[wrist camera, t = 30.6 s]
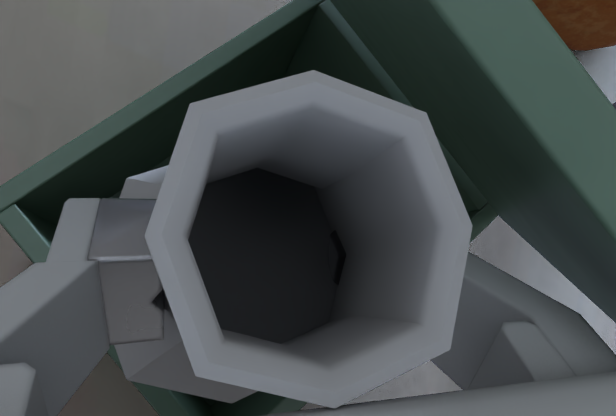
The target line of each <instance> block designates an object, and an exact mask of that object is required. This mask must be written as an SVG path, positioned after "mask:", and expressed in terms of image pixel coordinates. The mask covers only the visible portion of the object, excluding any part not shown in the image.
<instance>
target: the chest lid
mask: <svg viewBox="0 0 616 416" xmlns="http://www.w3.org/2000/svg"><path fill="white" fill-rule="evenodd" d="M330 1H331V2H332V4H333V5H334V6H335V8H336V9H337V10H338V11H339V13H340V14H341V15H342V16H343V18H344V19H345V20H346V22H347V23H348V24H349V25H350V27H351V28H352V29H353V30H354V32H355V33H356V34H357V36H358V37H359V38H360V39H361V41H362V42H363V43H364V45H365V46H366V47H367V48H368V50H369V51H370V52H371V53H372V55H373V56H374V57H375V59H376V60H377V61H378V62H379V64H380V65H381V66H382V67H383V69H384V70H385V71H386V73H387V74H388V75H389V76H390V78H391V79H392V80H393V82H394V83H395V84H396V85H397V87H398V88H399V89H400V90H401V92H402V93H403V94H404V96H405V97H406V98H407V99H408V101H409V102H410V103H411V104H412V106H413V107H414V108H415V109H418V110H421V111H423V112H426V113H427V115H428V118H429V120H430V123H431V125H432V128H433V130H434V132H435V135H436V136H437V138H438V139H439V140H440V141H441V143H442V144H443V145H444V147H445V148H446V149H447V150H448V152H449V153H450V154H451V156H452V157H453V158H454V159H455V161H456V162H457V163H458V164H459V166H460V167H461V168H462V170H463V171H464V172H465V173H466V175H467V176H468V177H469V178H470V180H471V181H472V182H473V184H474V185H475V186H476V187H477V189H478V190H479V191H480V193H481V194H482V195H483V196H484V198H485V199H486V200H487V201H488V203H489V204H490V205H491V207H492V208H493V209H494V210H495V212H496V213H497V214H498V215H499V217H501V218H502V219H503V220H504V221H505V222H506V223H507V224H508V225H509V226H510V227H511V228H513V229H514V230H515V231H516V232H517V233H518V234H519V235H520V236H521V237H522V238H523V239H525V240H526V241H527V242H528V243H529V244H530V245H531V246H532V247H533V248H534V249H535V250H537V251H538V252H539V253H540V254H541V255H542V256H543V257H544V258H545V259H546V260H548V261H549V262H550V263H551V264H552V265H553V266H554V267H555V268H556V269H557V270H558V271H560V272H561V273H562V274H563V275H564V276H565V277H566V278H567V279H568V280H569V281H570V282H572V283H573V284H574V285H575V286H576V287H577V288H578V289H579V290H580V291H581V292H582V293H584V294H585V295H586V296H587V297H588V298H589V299H590V300H591V301H592V302H593V303H595V304H596V305H597V306H598V307H599V308H600V309H601V310H602V311H603V312H604V313H605V314H607V315H608V316H609V317H610V318H611V319H612V320H613V321H614V322H615V323H616V102H615V103H614V104H613V105H612V104H611V102H610V101H609V100H608V99H607V97H606V96H605V95H604V93H603V92H602V91H601V89H600V88H599V87H598V86H597V84H596V83H595V82H594V80H593V79H592V78H591V76H590V75H589V74H588V72H587V71H586V70H585V69H584V67H583V66H582V65H581V63H580V62H579V61H578V59H577V58H576V57H575V56H574V54H573V53H572V52H571V50H570V49H569V48H568V46H567V45H566V44H565V42H564V41H563V40H562V39H561V37H560V36H559V35H558V33H557V32H556V31H555V29H554V28H553V27H552V25H551V24H550V23H549V22H548V20H547V19H546V18H545V16H544V15H543V14H542V12H541V11H540V10H539V9H538V7H537V6H536V5H535V3H534V2H533V1H532V0H330Z"/></svg>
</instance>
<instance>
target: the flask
mask: <svg viewBox="0 0 616 416" xmlns="http://www.w3.org/2000/svg"><path fill="white" fill-rule="evenodd" d="M120 198H130V199H157V200H156V203H155V206H154V209H153V212H152V215H151V218H150V221H149V224H148V227H147V229H146V232H145V240H146V243H147V246H148V248H149V251H150V254H151V257H152V259H153V262H154V265H155V268H156V270H157V273H158V276H159V279H160V281H161V284H162V287H163V290H164V303H165V315H164V340H156V341H146V342H137V343H127V344H118V345H114V346H115V349H116V352H117V354H118V357H119V360H120V363H121V366H122V369H123V372H124V374H125V377H126V380H129V381H133V382H138V383H142V384H147V385H151V386H156V387H160V388H164V389H169V390H173V391H178V392H182V393H187V394H191V395H196V396H200V397H205V398H209V399H213V400H218V401H222V402H227V403H231V404H232V403H234V402H236V401H238V400H240V399H242V398H245V397H247V396H249V395H251V394H253V393H255V392H257V391H261V392H266V393H270V394H274V395H279V396H283V397H287V398H292V399H296V400H300V401H305V402H309V403H313V404H317V405H322V406H326V407H330V408H337V407H339V406H341V405H343V404H345V403H347V402H349V401H351V400H353V399H355V398H357V397H359V396H360V395H362V394H364V393H366V392H368V391H370V390H372V389H374V388H376V387H378V386H380V385H382V384H384V383H386V382H388V381H390V380H392V379H394V378H396V377H398V376H400V375H402V374H404V373H406V372H408V371H409V370H411V369H413V368H415V367H417V366H419V365H421V364H423V363H425V362H427V361H429V360H431V359H433V358H435V357H437V356H439V355H441V354H443V353H445V352H447V351H449V350H450V348H451V342H452V337H453V331H454V326H455V320H456V315H457V309H458V304H459V298H460V293H461V287H462V282H463V276H464V271H465V265H466V260H467V254H468V249H469V243H470V238H471V232H472V227H473V225H472V223H471V220H470V218H469V215H468V213H467V211H466V208H465V206H464V203H463V201H462V198H461V196H460V193H459V191H458V189H457V186H456V184H455V181H454V179H453V176H452V174H451V172H450V169H449V167H448V164H447V162H446V159H445V157H444V154H443V152H442V150H441V147H440V145H439V142H438V140H437V137H436V135H435V132H434V130H433V128H432V125H431V123H430V120H429V118H428V115H427V113H426V112H423V111H421V110H418V109H415V108H413V107H410V106H407V105H405V104H402V103H400V102H397V101H394V100H392V99H389V98H386V97H384V96H381V95H378V94H376V93H373V92H371V91H368V90H365V89H363V88H360V87H357V86H355V85H352V84H349V83H347V82H344V81H342V80H339V79H336V78H334V77H331V76H328V75H326V74H323V73H320V72H318V71H315V70H311V71H308V72H304V73H300V74H296V75H293V76H289V77H285V78H282V79H278V80H274V81H271V82H267V83H263V84H260V85H256V86H252V87H249V88H245V89H241V90H237V91H234V92H230V93H226V94H223V95H219V96H215V97H212V98H208V99H204V100H201V101H197V102H193V103H190V105H189V107H188V110H187V113H186V116H185V119H184V122H183V125H182V128H181V131H180V134H179V136H178V139H177V142H176V145H175V148H174V151H173V154H172V157H171V160H170V163H169V165H168V166H164V167H161V168H158V169H155V170H151V171H148V172H145V173H141V174H138V175H135V176H132V177H128V178H126V181H125V184H124V187H123V189H122V192H121V195H120ZM334 230H336V232H337V234H338V237H339V239H340V241H341V243H342V245H343V248H344V250H345V252H346V258H345V262H344V266H343V270H342V274H341V278H340V282H339V286H338V285H337V284H336V283H334V282H333V280H332V277H331V274H330V271H329V266H328V243H329V238H330V234H331V233H332V232H333V231H334Z"/></svg>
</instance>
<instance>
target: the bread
mask: <svg viewBox="0 0 616 416" xmlns="http://www.w3.org/2000/svg"><path fill="white" fill-rule="evenodd" d="M532 1H533V2H534V3H535V5H536V6H537V7H538V9H539V10H540V11H541V12H542V14H543V15H544V16H545V18H546V19H547V20H548V22H549V23H550V24H551V25H552V27H553V28H554V29H555V31H556V32H557V33H558V35H559V36H560V37H561V39H562V40H563V41H564V42H565V44H566V45H567V46H568V48H569V49H571V50H583V51H586V50H592V49H597V48H603V47H609V46H614V45H616V0H532Z"/></svg>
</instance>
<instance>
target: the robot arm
mask: <svg viewBox="0 0 616 416" xmlns="http://www.w3.org/2000/svg"><path fill="white" fill-rule="evenodd" d="M156 200H157V199H130V198H102V199H100V198H69V199H68V200H67V201H66V202H65V203H64V206H63V209H62V213H61V216H60V219H59V222H58V225H57V228H56V231H55V234H54V238H53V241H52V244H51V247H50V250H49V253H48V256H47V260H46V262H38V263H34V264H33V265H31V266H30V267H28V268H27V269H26V270H24V271H23V272H21V273H20V274H19V275H17V276H16V277H14V278H13V279H12V280H10V281H9V282H7V283H6V284H4V285H3V286H2V287H0V416H57V415H58V413H59V412H60V411H61V410H62V408H63V407H64V406H65V405H66V403H67V402H68V401H69V399H70V398H71V397H72V396H73V394H74V393H75V392H76V391H77V389H78V388H79V387H80V385H81V384H82V383H83V382H84V380H85V379H86V378H87V377H88V375H89V374H90V373H91V371H92V370H93V369H94V368H95V366H96V365H97V364H98V363H99V361H100V360H101V359H102V358H103V356H104V355H105V354H106V352H107V351H108V350H109V349H110V347H109V345H118V344H127V343H137V342H146V341H156V340H164V315H165V303H164V290H163V287H162V284H161V281H160V279H159V276H158V273H157V270H156V268H155V265H154V262H153V259H152V257H151V254H150V251H149V248H148V246H147V243H146V240H145V232H146V229H147V227H148V224H149V221H150V218H151V215H152V212H153V209H154V206H155V203H156ZM345 258H346V252H345V250H344V248H343V245H342V243H341V241H340V239H339V237H338V234H337V232H336V230H334V231H333V232H332V233H331V234H330V238H329V243H328V266H329V271H330V274H331V277H332V280H333V282H334V283H336V284H337V285H338V286H339V282H340V278H341V274H342V270H343V266H344V262H345ZM431 361H432V362H433V363H434V364H435V365H436V366H437V367H439V368H440V369H441V370H442V371H443V372H444V373H445V374H446V375H447V376H448V377H450V378H451V379H452V380H453V381H454V382H455V383H456V384H457V385H458V386H459V387H461V388H462V389H463V390H461V391H453V392H445V393H437V394H429V395H421V396H413V397H405V398H397V399H389V400H381V401H372V402H364V403H356V404H348V405H341V406H339V407H337V408H330V407H324V408H316V409H308V410H300V411H292V412H284V413H275V414H267V415H259V416H616V355H615V354H614V352H613V351H612V350H611V349H610V348H609V347H608V346H607V344H606V343H605V342H604V341H603V340H602V339H601V338H600V336H599V335H598V334H597V333H596V332H595V331H594V329H593V328H592V327H591V326H590V325H589V324H588V323H587V321H586V320H585V319H584V318H583V317H582V316H581V315H580V314H579V313H577V312H575V311H573V310H572V309H570V308H568V307H566V306H565V305H563V304H561V303H559V302H557V301H556V300H554V299H552V298H550V297H548V296H547V295H545V294H543V293H541V292H540V291H538V290H536V289H534V288H532V287H531V286H529V285H527V284H525V283H523V282H522V281H520V280H518V279H516V278H514V277H513V276H511V275H509V274H507V273H506V272H504V271H502V270H500V269H498V268H497V267H495V266H493V265H491V264H489V263H488V262H486V261H484V260H482V259H481V258H479V257H477V256H475V255H473V254H472V253H470V252H468V254H467V260H466V265H465V271H464V276H463V282H462V287H461V293H460V298H459V304H458V309H457V315H456V320H455V326H454V331H453V337H452V342H451V348H450V350H449V351H447V352H445V353H443V354H441V355H439V356H437V357H435V358H433V359H431Z"/></svg>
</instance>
